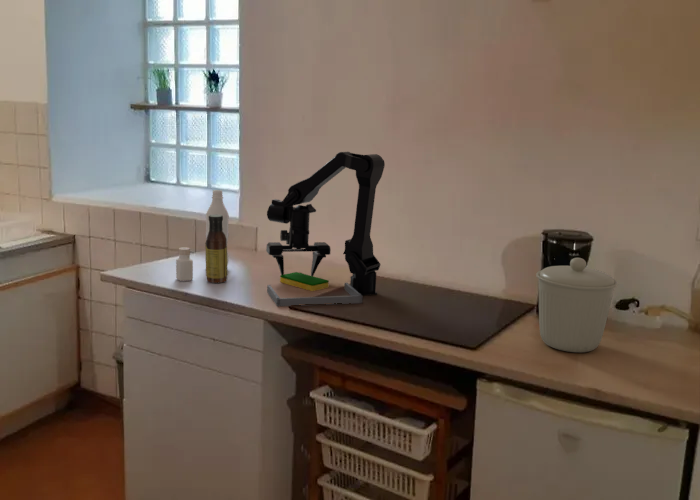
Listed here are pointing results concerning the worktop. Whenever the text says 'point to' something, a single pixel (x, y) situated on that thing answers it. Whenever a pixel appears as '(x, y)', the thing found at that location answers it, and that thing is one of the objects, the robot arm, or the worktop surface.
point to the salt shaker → (184, 265)
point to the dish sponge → (304, 281)
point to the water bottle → (219, 209)
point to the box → (317, 298)
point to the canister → (574, 305)
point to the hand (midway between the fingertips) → (297, 276)
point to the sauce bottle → (216, 251)
